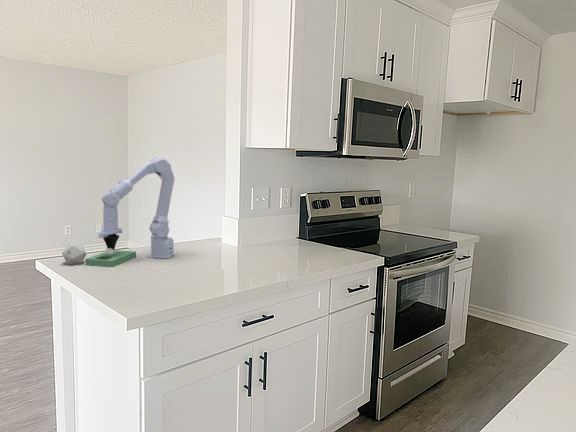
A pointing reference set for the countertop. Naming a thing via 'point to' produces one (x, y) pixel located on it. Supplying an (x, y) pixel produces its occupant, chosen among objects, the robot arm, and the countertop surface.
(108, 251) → the ball
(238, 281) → the countertop surface
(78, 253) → the die
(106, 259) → the green
